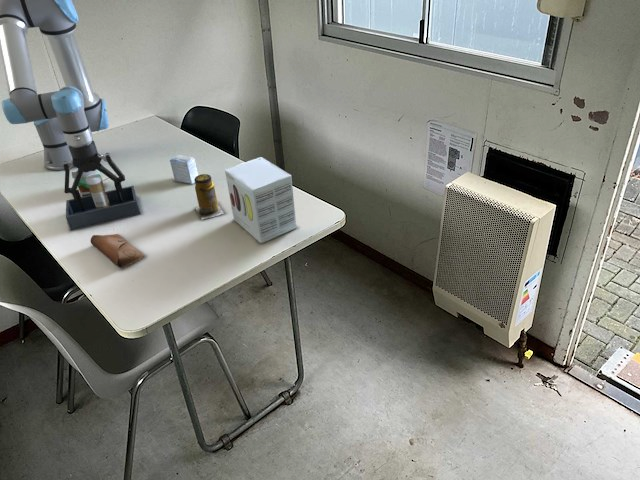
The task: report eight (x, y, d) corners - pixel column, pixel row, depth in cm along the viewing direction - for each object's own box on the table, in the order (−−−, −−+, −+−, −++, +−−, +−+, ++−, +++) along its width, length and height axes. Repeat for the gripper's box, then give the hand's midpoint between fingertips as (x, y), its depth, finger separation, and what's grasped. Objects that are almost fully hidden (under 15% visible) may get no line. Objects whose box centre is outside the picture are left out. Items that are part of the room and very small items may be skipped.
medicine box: (199, 179, 186) (194, 157, 181) (192, 184, 182) (187, 162, 178) (182, 175, 189) (177, 154, 184) (174, 181, 185) (169, 159, 180)
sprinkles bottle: (114, 209, 170) (102, 173, 163) (107, 216, 166) (95, 179, 159) (102, 208, 171) (89, 172, 163) (95, 215, 167) (82, 179, 160)
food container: (95, 199, 178) (86, 173, 172) (80, 198, 179) (70, 172, 173) (114, 182, 188) (106, 157, 182) (99, 181, 189) (90, 157, 183)
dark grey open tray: (71, 212, 171) (66, 200, 168) (137, 197, 177) (133, 185, 174) (70, 230, 161) (65, 217, 159) (140, 214, 167) (136, 201, 165)
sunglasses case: (146, 255, 147) (130, 244, 141) (130, 274, 145) (113, 264, 140) (117, 233, 157) (101, 222, 152) (102, 251, 156) (85, 240, 151)
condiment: (216, 202, 171) (210, 170, 164) (224, 214, 164) (217, 181, 157) (195, 208, 168) (188, 176, 161) (202, 220, 162) (194, 187, 155)
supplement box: (232, 220, 160) (222, 169, 150) (268, 206, 167) (261, 155, 156) (260, 244, 149) (252, 190, 138) (298, 228, 155) (292, 174, 145)
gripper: (38, 155, 149) (64, 219, 161) (121, 139, 155) (140, 201, 167) (39, 146, 154) (64, 208, 167) (120, 131, 161) (138, 191, 173)
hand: (102, 205), depth 167 cm, fingers open, 11 cm apart
